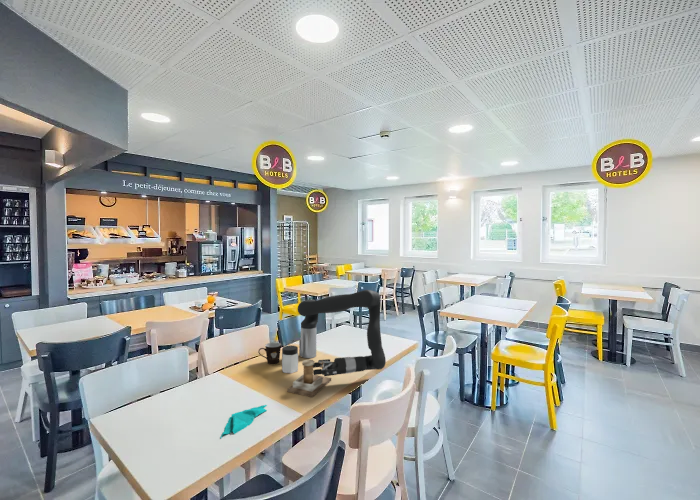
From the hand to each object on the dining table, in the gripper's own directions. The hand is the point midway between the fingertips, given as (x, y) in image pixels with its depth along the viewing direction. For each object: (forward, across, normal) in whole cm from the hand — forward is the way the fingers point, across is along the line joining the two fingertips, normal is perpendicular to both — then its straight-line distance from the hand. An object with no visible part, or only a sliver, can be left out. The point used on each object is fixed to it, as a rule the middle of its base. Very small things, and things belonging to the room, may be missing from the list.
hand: (311, 368), depth 158 cm
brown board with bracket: (0, -2, +9) cm, 9 cm away
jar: (+7, -23, +9) cm, 26 cm away
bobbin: (+2, 0, +8) cm, 8 cm away
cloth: (+30, +20, +10) cm, 38 cm away
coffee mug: (+16, -37, +9) cm, 41 cm away
